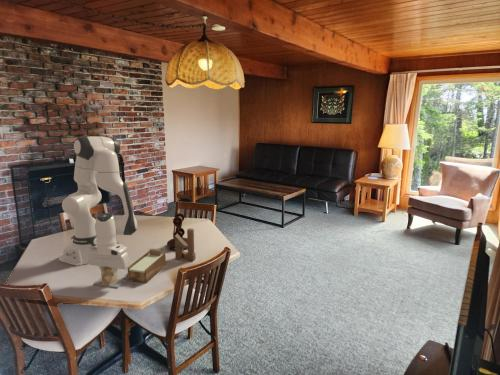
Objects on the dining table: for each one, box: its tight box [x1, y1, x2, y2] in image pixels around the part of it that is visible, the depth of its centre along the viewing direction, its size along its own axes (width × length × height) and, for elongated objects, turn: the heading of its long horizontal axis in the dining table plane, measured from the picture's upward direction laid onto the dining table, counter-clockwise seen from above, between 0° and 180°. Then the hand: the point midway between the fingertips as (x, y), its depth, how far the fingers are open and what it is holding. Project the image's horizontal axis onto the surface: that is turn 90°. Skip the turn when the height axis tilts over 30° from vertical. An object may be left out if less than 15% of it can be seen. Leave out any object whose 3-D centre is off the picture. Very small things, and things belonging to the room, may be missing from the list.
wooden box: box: [126, 251, 167, 284], centre depth 178 cm, size 10×20×7 cm, turn 167°
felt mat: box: [93, 277, 127, 289], centre depth 168 cm, size 13×7×1 cm, turn 77°
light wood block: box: [100, 267, 119, 285], centre depth 167 cm, size 4×7×8 cm, turn 167°
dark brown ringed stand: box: [166, 212, 188, 250], centre depth 211 cm, size 15×15×20 cm
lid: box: [129, 248, 164, 273], centre depth 177 cm, size 8×20×4 cm, turn 166°
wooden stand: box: [174, 228, 196, 262], centre depth 193 cm, size 4×11×18 cm, turn 78°
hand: (109, 274), depth 167 cm, fingers open, 4 cm apart
